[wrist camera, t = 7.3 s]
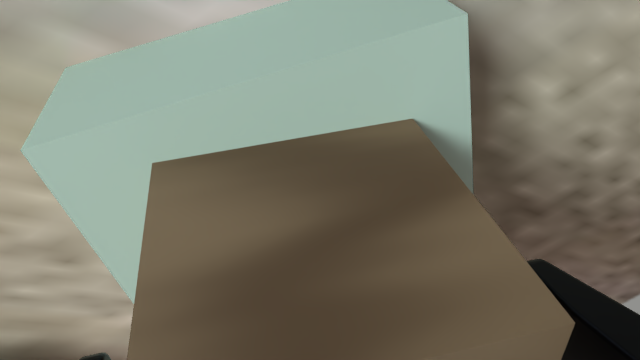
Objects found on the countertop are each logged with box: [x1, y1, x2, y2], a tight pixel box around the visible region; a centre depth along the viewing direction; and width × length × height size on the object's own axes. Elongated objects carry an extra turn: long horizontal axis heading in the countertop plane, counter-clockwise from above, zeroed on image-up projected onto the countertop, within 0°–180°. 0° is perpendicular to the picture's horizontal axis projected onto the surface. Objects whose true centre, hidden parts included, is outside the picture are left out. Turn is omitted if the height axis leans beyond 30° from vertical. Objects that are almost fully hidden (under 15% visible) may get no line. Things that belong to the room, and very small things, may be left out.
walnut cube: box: [127, 119, 575, 360], centre depth 9 cm, size 5×5×5 cm
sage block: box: [20, 0, 473, 304], centre depth 12 cm, size 8×8×4 cm
